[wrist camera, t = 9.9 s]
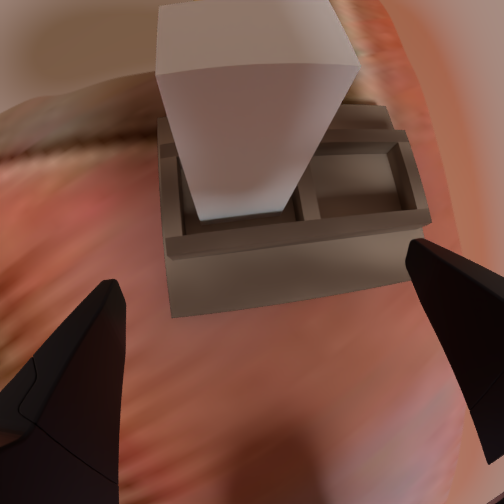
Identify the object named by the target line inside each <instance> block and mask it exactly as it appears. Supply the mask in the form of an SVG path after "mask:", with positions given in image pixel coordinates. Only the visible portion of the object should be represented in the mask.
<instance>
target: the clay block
mask: <svg viewBox="0 0 504 504" xmlns="http://www.w3.org/2000/svg"><path fill="white" fill-rule="evenodd" d="M360 67H361V65H360V62H359V60H358V58H357V56H356V54H355V51H354V49H353V47H352V45H351V43H350V41H349V39H348V37H347V35H346V33H345V31H344V29H343V27H342V25H341V23H340V21H339V19H338V17H337V15H336V13H335V11H334V9H333V8H332V6H331V4H330V2H329V0H199V1H191V2H183V3H176V4H169V5H163V6H159V12H158V27H157V46H156V71H155V76H156V80H157V83H158V87H159V90H160V94H161V97H162V101H163V104H164V107H165V111H166V114H167V118H168V121H169V124H170V128H171V131H172V134H173V138H174V141H175V144H176V148H177V151H178V154H179V157H180V161H181V164H182V167H183V170H184V173H185V176H186V180H187V183H188V186H189V189H190V192H191V195H192V198H193V201H194V205H195V208H196V211H197V214H198V217H199V220H200V223H201V226H202V225H209V224H217V223H225V222H233V221H241V220H249V219H257V218H265V217H274V216H280V215H281V213H282V211H283V209H284V208H285V206H286V204H287V202H288V200H289V198H290V197H291V195H292V193H293V191H294V189H295V187H296V186H297V184H298V182H299V180H300V178H301V176H302V175H303V173H304V171H305V169H306V167H307V165H308V164H309V162H310V160H311V158H312V156H313V154H314V153H315V151H316V149H317V147H318V145H319V143H320V141H321V140H322V138H323V136H324V134H325V132H326V130H327V129H328V127H329V125H330V123H331V121H332V119H333V117H334V116H335V114H336V112H337V110H338V108H339V106H340V104H341V103H342V101H343V99H344V97H345V95H346V93H347V91H348V90H349V88H350V86H351V84H352V82H353V80H354V78H355V77H356V75H357V73H358V71H359V69H360Z"/></svg>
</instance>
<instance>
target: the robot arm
mask: <svg viewBox="0 0 504 504" xmlns="http://www.w3.org/2000/svg"><path fill="white" fill-rule="evenodd" d="M405 266H406V269H407V271H408V274H409V276H410V278H411V281H412V283H413V285H414V288H415V290H416V293H417V295H418V298H419V300H420V302H421V305H422V307H423V309H424V311H425V313H426V315H427V317H428V319H429V321H430V323H431V325H432V327H433V329H434V331H435V333H436V335H437V337H438V339H439V341H440V343H441V345H442V347H443V350H444V352H445V354H446V356H447V358H448V361H449V363H450V365H451V367H452V370H453V372H454V374H455V376H456V379H457V381H458V384H459V386H460V388H461V391H462V393H463V396H464V398H465V401H466V403H467V406H468V408H469V410H470V414H471V417H472V419H473V422H474V425H475V428H476V430H477V433H478V436H479V439H480V442H481V445H482V448H483V451H484V455H485V458H486V461H487V463H488V465H490V464H491V463H493V462H494V461H496V460H497V459H499V458H500V457H501V456H503V455H504V277H502V276H500V275H498V274H496V273H494V272H492V271H491V270H489V269H487V268H485V267H483V266H481V265H479V264H476V263H475V262H473V261H471V260H468V259H466V258H464V257H462V256H460V255H458V254H456V253H454V252H452V251H450V250H448V249H445V248H443V247H441V246H439V245H437V244H435V243H433V242H430V241H428V240H426V239H424V238H417V239H412V240H411V241H410V243H409V246H408V250H407V254H406V258H405ZM125 353H126V302H125V299H124V296H123V294H122V291H121V289H120V286H119V283H118V282H117V280H115V279H109V280H103V281H102V282H101V283H100V284H99V285H98V286H97V287H96V288H95V289H94V290H93V291H92V292H91V293H90V294H89V295H88V296H87V297H86V298H85V299H84V300H83V301H82V302H81V303H80V304H79V305H78V306H77V307H76V308H75V310H74V311H73V312H72V313H71V314H70V315H69V316H68V317H67V318H66V319H65V320H64V321H63V322H62V323H61V325H60V326H59V327H58V328H57V329H56V330H55V331H54V332H53V333H52V334H51V336H50V337H49V338H48V339H47V340H46V341H45V342H44V343H43V345H42V346H41V347H40V348H39V349H38V350H37V351H36V352H35V354H34V355H33V357H31V358H30V359H29V361H28V362H27V363H26V364H25V365H24V366H23V368H22V369H21V370H20V371H19V372H18V373H17V374H16V376H15V377H14V378H13V379H12V380H11V381H10V382H9V383H8V384H7V385H6V386H5V387H4V389H3V390H2V391H1V392H0V504H119V486H118V463H119V430H120V411H121V397H122V385H123V374H124V364H125ZM487 504H504V492H503V493H502V494H500V495H499V496H497V497H496V498H494V499H493V500H491V501H490V502H488V503H487Z"/></svg>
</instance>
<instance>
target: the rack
mask: <svg viewBox="0 0 504 504" xmlns="http://www.w3.org/2000/svg"><path fill="white" fill-rule="evenodd" d="M157 137H158V169H159V190H160V206H161V221H162V234H163V245H164V256H165V266H166V276H167V285H168V293H169V301H170V309H171V317H172V318H178V317H187V316H195V315H204V314H212V313H220V312H227V311H235V310H242V309H249V308H256V307H263V306H270V305H277V304H283V303H290V302H296V301H302V300H308V299H314V298H320V297H326V296H332V295H338V294H343V293H349V292H354V291H360V290H365V289H370V288H375V287H381V286H386V285H391V284H396V283H400V282H405V281H410V280H411V278H410V276H409V274H408V271H407V269H406V266H405V258H406V254H407V250H408V246H409V243H410V241H411V240H412V239H417V238H424V234H423V229H422V227H423V226H426V225H428V224H430V223H432V220H431V216H430V212H429V208H428V204H427V200H426V196H425V193H424V189H423V185H422V182H421V178H420V175H419V172H418V168H417V165H416V162H415V159H414V156H413V152H412V149H411V146H410V143H409V140H408V138H407V135H406V132H405V130H394V128H393V125H392V122H391V119H390V117H389V114H388V111H387V109H386V106H377V105H354V104H340V106H339V108H338V110H337V112H336V114H335V116H334V117H333V119H332V121H331V123H330V125H329V127H328V129H327V130H326V132H325V134H324V136H323V138H322V140H321V141H320V143H319V145H318V147H317V149H316V151H315V153H314V154H313V156H312V158H311V160H310V162H309V164H308V165H307V167H306V169H305V171H304V173H303V175H302V176H301V178H300V180H299V182H298V184H297V186H296V187H295V189H294V191H293V193H292V195H291V197H290V198H289V200H288V202H287V204H286V206H285V208H284V209H283V211H282V213H281V215H280V216H274V217H265V218H257V219H249V220H241V221H233V222H225V223H217V224H209V225H202V226H201V223H200V220H199V217H198V214H197V211H196V208H195V205H194V201H193V198H192V195H191V192H190V189H189V186H188V183H187V180H186V176H185V173H184V170H183V167H182V164H181V161H180V157H179V154H178V151H177V148H176V144H175V141H174V138H173V134H172V131H171V128H170V124H169V121H168V118H167V117H161V118H157Z"/></svg>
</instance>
